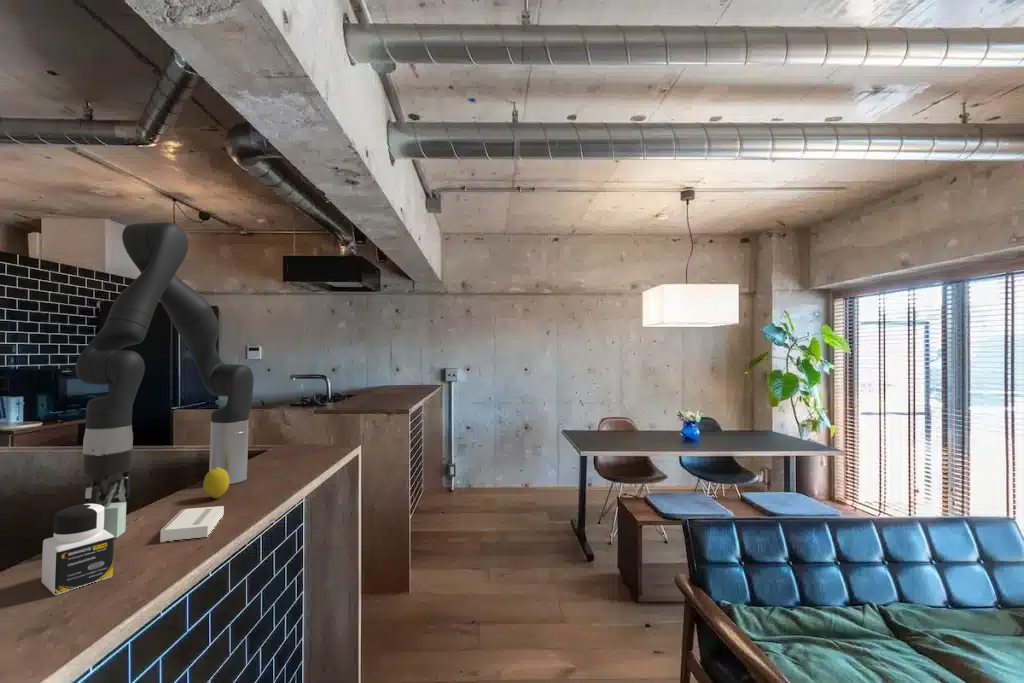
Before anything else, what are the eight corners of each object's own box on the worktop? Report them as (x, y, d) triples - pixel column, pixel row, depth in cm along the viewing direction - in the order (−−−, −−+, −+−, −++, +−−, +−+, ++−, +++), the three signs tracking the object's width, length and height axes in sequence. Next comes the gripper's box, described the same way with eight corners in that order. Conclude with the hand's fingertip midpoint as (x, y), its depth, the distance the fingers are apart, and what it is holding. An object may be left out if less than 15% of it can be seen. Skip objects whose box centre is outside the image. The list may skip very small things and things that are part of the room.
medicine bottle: (54, 596, 70) (57, 518, 70) (40, 583, 74) (43, 509, 74) (113, 577, 76) (115, 505, 76) (97, 565, 80) (100, 497, 80)
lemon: (233, 495, 118) (234, 464, 118) (217, 502, 112) (219, 470, 112) (214, 494, 118) (215, 463, 118) (197, 501, 113) (198, 469, 113)
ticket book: (182, 520, 101) (182, 508, 101) (223, 516, 104) (223, 505, 104) (160, 542, 90) (160, 529, 90) (207, 537, 92) (207, 525, 92)
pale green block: (94, 533, 93) (95, 504, 93) (125, 531, 94) (126, 502, 94) (85, 540, 89) (86, 510, 89) (116, 537, 91) (118, 507, 91)
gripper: (103, 442, 97) (101, 518, 97) (63, 458, 84) (60, 547, 84) (146, 440, 100) (143, 515, 100) (113, 455, 86) (110, 542, 86)
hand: (105, 529), depth 92 cm, fingers open, 7 cm apart
